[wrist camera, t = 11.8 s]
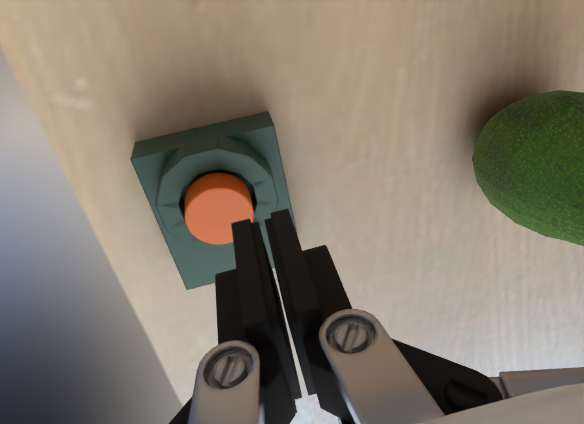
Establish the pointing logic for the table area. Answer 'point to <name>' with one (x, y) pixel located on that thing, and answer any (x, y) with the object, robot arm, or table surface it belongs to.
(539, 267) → the table surface
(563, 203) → the fruit
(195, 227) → the button
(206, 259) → the housing
